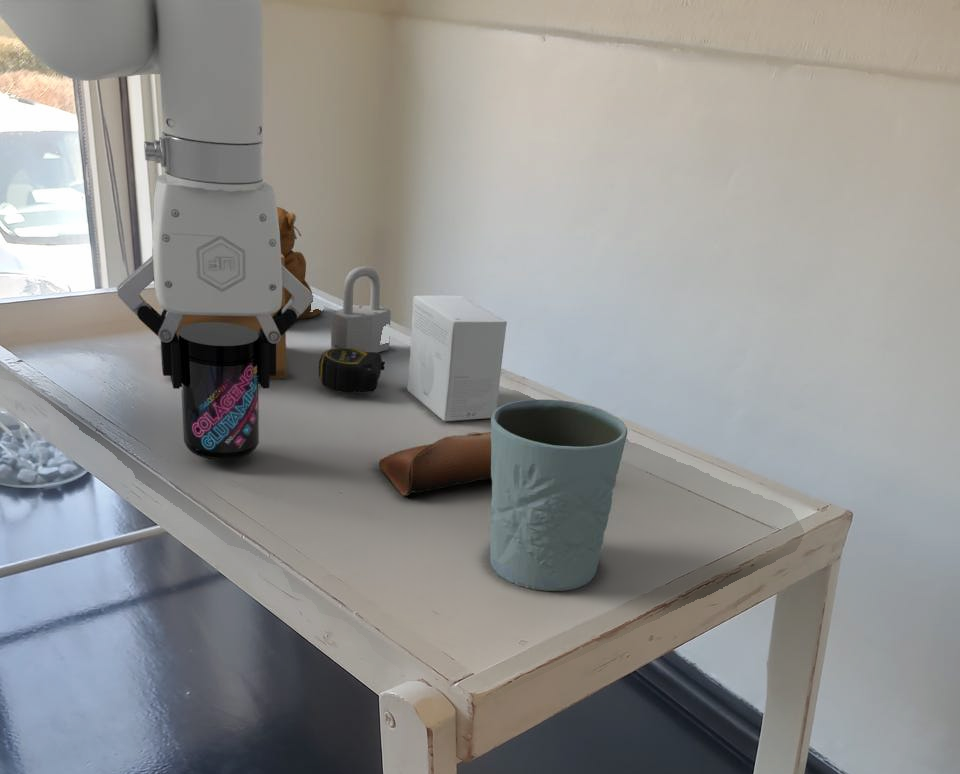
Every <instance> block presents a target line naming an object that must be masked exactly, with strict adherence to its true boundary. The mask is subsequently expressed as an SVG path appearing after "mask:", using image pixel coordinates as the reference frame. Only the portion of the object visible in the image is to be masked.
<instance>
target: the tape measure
mask: <svg viewBox="0 0 960 774" xmlns="http://www.w3.org/2000/svg"><path fill="white" fill-rule="evenodd" d="M385 364H386V361H383V358H382V356H381V354H380V353H379V352H377V353H376V352H364V351H360V350H357V349H351V348H336V349H331V348H330V349H328V350H326V351H324V352H323V353H322V354H321V355H320V358H319V360H318V378H319V380H320V382H321V384H322V385H323V386H324V387H325V388H327V389H329V390H331V391H334V392H338V393H344V394H362V393H364V394H365V393H366V394H367V393H373V392H375V391H376V390H377V388H378V384H379V379H380V376H381V373H382V371H384V370H385Z"/></svg>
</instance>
